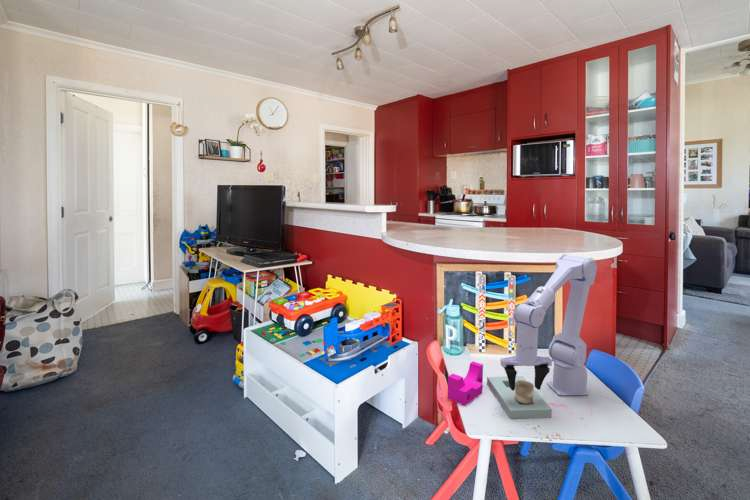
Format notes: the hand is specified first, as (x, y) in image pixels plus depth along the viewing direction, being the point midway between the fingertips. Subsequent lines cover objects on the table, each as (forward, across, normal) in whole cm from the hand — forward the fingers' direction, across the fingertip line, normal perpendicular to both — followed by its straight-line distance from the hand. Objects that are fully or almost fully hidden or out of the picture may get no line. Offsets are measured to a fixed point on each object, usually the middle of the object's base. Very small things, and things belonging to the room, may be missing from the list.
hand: (524, 388), depth 112 cm
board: (+6, 0, -5) cm, 8 cm away
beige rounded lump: (+6, 0, 0) cm, 6 cm away
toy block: (+7, +14, -10) cm, 18 cm away
